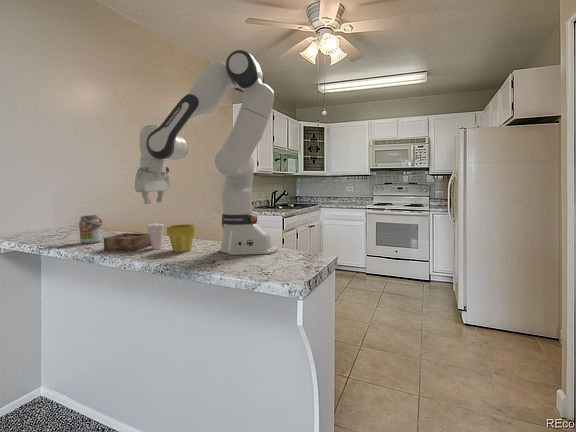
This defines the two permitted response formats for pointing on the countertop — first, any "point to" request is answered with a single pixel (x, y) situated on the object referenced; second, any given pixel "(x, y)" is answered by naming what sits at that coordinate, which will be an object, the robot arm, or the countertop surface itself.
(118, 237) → the box
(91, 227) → the decorated jar
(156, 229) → the smoothie
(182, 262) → the countertop surface
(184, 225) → the plant pot
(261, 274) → the countertop surface
